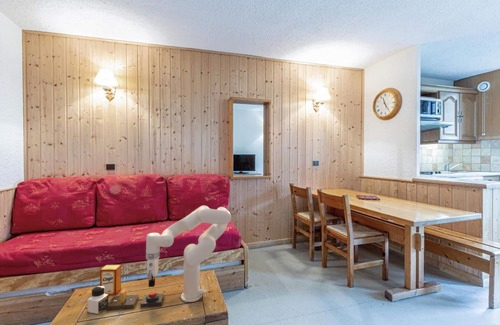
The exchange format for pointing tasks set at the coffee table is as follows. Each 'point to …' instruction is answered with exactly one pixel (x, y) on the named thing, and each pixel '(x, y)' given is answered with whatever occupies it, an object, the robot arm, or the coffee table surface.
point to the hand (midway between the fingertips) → (151, 286)
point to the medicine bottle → (98, 300)
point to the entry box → (152, 300)
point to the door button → (152, 294)
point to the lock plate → (127, 304)
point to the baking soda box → (111, 279)
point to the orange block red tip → (123, 296)
